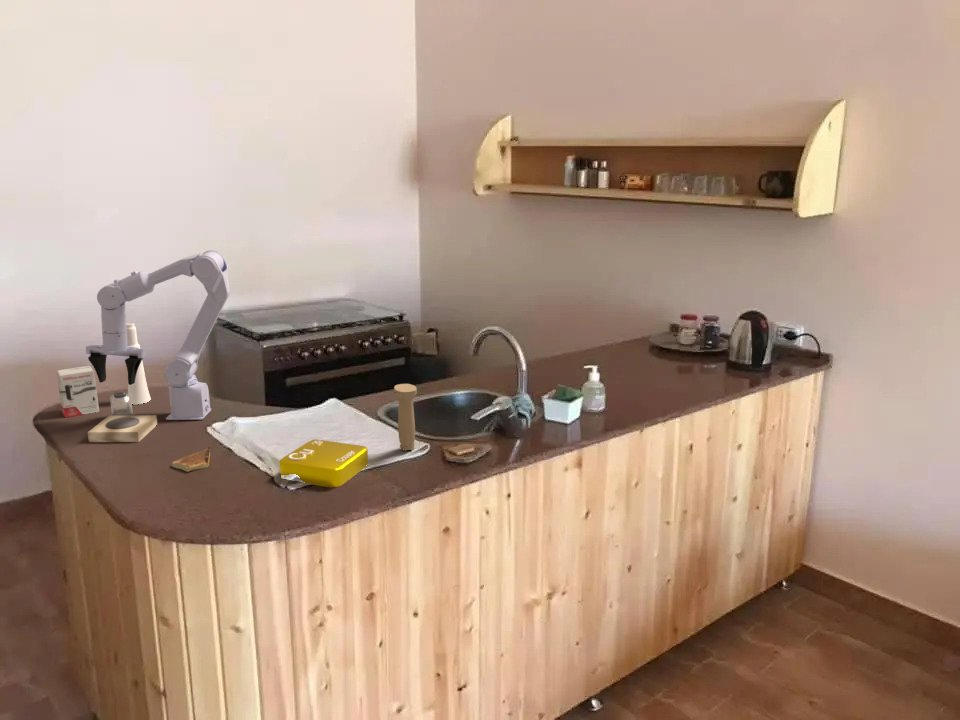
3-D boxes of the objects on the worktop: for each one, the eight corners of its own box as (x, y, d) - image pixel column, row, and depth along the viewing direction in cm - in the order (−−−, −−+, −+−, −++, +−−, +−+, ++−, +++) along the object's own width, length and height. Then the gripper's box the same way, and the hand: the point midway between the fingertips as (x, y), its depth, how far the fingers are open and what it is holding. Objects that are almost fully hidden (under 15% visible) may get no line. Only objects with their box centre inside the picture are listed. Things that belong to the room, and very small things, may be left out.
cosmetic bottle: (128, 399, 233) (118, 322, 227) (151, 397, 234) (142, 320, 228) (126, 405, 227) (116, 327, 221) (150, 403, 229) (141, 325, 223)
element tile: (337, 490, 174) (336, 469, 173) (276, 480, 179) (274, 459, 178) (371, 464, 188) (370, 444, 186) (313, 455, 193) (312, 436, 191)
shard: (210, 453, 195) (209, 445, 194) (232, 459, 191) (231, 452, 190) (171, 468, 186) (170, 460, 186) (193, 475, 182) (192, 467, 182)
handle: (413, 443, 199) (411, 382, 195) (421, 452, 193) (419, 390, 189) (393, 445, 197) (391, 385, 193) (400, 455, 191) (398, 393, 187)
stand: (157, 424, 212) (156, 414, 212) (138, 441, 201) (137, 430, 200) (110, 425, 212) (108, 414, 212) (88, 442, 201) (87, 431, 200)
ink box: (64, 418, 218) (58, 374, 214) (62, 413, 222) (55, 370, 218) (100, 412, 222) (94, 369, 219) (96, 407, 226) (90, 365, 223)
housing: (136, 414, 220) (133, 389, 218) (128, 421, 215) (125, 395, 213) (117, 414, 220) (114, 389, 218) (109, 421, 215) (105, 395, 213)
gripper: (78, 332, 208) (81, 384, 211) (135, 337, 207) (137, 389, 211) (92, 326, 215) (95, 376, 218) (147, 330, 214) (150, 381, 218)
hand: (117, 382), depth 215 cm, fingers open, 7 cm apart
